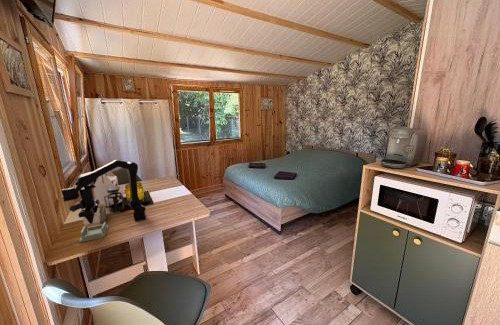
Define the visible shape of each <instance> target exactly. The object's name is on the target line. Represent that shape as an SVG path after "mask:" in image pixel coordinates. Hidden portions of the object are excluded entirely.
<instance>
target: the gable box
mask: <svg viewBox="0 0 500 325" xmlns="http://www.w3.org/2000/svg"><path fill="white" fill-rule="evenodd" d="M110 180H115V181H113V184H112V182H109V181H110ZM93 185H95V186H96V187H95V188H93V191H94V192H93V193H94V196H95V199H98V200H99V202H100V203H99V205H100V204H102V205H104V206H105V207H106V204H105V198H106V203H107V207H108V206H109V202H110V201H112V200H113V198H109V202H108V197H105V198H104V196H107V195H109V194H111V193H108V192H107V190H106V189H107V188H109V187H114V186H119V183H118V177H117V175H115V174H114V173H113V172H112V170H111V171H109V172H107V173H105V174H103V175H101V176H99V177H98V178H96V180H95V183H94V184H93ZM118 192H120V190H119V191H118ZM118 195H120V194H117V196H118ZM113 196H114V195H110V196H109V197H113ZM118 199H120V197H118ZM96 205H98V204H97V203H96ZM110 205H112V204H110ZM98 208H100V206H98Z"/></svg>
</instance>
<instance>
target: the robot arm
mask: <svg viewBox="0 0 500 325" xmlns="http://www.w3.org/2000/svg"><path fill="white" fill-rule="evenodd" d="M116 168H122V169H124V170H125V171H126V173H127V175H128V185H129V186H128V187H129V196H130V197H129V198H127V205H128V206H129V207H130V209H131V210H133V213H132V215H133V220H134V222H139V221H144V220H146V219H147V215H146V207H145V206H144V205H143V204H142V202H141V200H140V197H139V192H138V182H137V174H138V172H139V171H138V169H139V166H138V164H137V163H136V162H134V161H131V160H129V161H124V160H119V159H114V160H112V161H111V162H108V163H106V164H104V165H103V166H101V167H99V168H96V169H95V170H93V171H92V170H91V171H89V172H86V173H82V174H79V175H78V176H77V177H76V182H75V183H74V185H73V187H69V188H63V189H62V188H61V193H62V194H61V195H62V196H61V197H62V199H63V202H64V203H65V202H70V201H75V200H78V199H79V198H80V200H79V201H77V202H75V203H73V204H71V205H70V206H69V212H72V213H74V212H76V211H79V210H80V211H79V212H78V214H77V215H78V218H83V217H85V218H86V219H87V220H88V222H89V223H90V224H89V225H92V224H94V223H93V218H94V214H95V213H96V212H98V211H99V207H98V206H99V203H100V202H99V200H98V199H96V197H95V195H94V192H93V191H94V190H93V189H94V188H95V187H96V186H95V185H94V184H93V182H95V181H96V180H97V179H98V177H99V176H101V175H103V174H105V173H107V172H109V171H111V172H112V171H113V170H115V169H116ZM97 204H98V205H97Z"/></svg>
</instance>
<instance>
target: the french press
mask: <svg viewBox="0 0 500 325" xmlns="http://www.w3.org/2000/svg"><path fill="white" fill-rule="evenodd" d="M113 181H115V180H110V181H109V182H112V184H113ZM120 189H121V186H119V185H118V186H114V187H109V188H107V189H106V190H107V192H108V193H111V194H109V195H107V196H104V198H105V197H108V202H109V198H113V200H112V201H110V202H109V205H108V206H107V203H106V198H105V204H106V206H105V208H106V209H108V208H109V212H110V213H116V212H117V213H118V212H120V211H123V210H124V209H125V206H124V200H123V194H122V193H123V192H121V191H120ZM118 191H119V192H118ZM117 194H120V195H118V196H117ZM110 195H114V196H113V197H109V196H110ZM118 197H119V199H118ZM120 197H121V199H120ZM110 204H112V205H110ZM123 208H124V209H123ZM122 209H123V210H122Z"/></svg>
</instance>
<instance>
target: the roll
mask: <svg viewBox="0 0 500 325" xmlns="http://www.w3.org/2000/svg"><path fill="white" fill-rule="evenodd" d="M100 219H101V217H100V213H99V211H97V212H96V213H95V214H94V218H93V223H92V224H97V223H100ZM82 223H83V224H84V226H87V225H91V224H90V223H89V222H88V220H87V219H86V218H85V217H82Z"/></svg>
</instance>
